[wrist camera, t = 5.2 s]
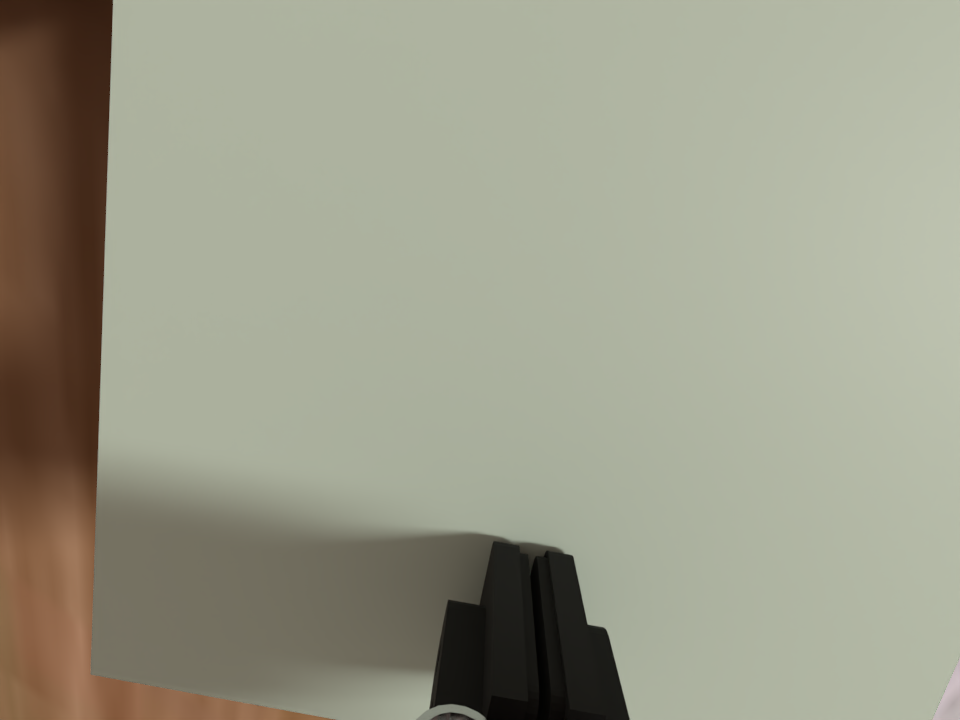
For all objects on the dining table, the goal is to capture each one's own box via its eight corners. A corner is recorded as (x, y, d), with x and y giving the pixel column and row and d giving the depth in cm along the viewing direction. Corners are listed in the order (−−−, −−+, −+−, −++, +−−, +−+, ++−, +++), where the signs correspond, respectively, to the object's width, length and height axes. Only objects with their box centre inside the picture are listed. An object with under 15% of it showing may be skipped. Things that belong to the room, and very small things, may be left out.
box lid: (1174, 60, 10) (1230, 46, 9) (848, 825, 14) (869, 861, 13) (148, -140, 10) (118, -171, 9) (112, 690, 14) (89, 718, 13)
